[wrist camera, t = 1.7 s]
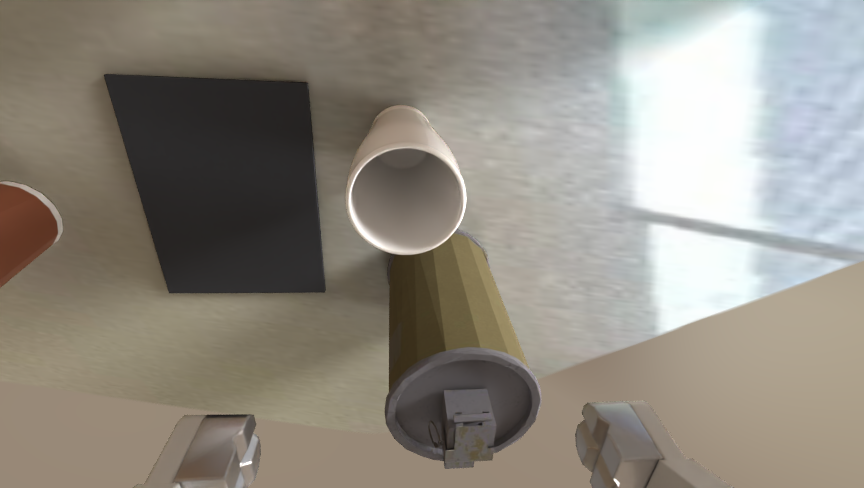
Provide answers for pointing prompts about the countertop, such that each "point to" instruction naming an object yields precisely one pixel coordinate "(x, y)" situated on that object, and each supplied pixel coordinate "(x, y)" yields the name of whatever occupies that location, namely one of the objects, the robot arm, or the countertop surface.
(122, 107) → the place mat
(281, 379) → the countertop surface
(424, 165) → the white tapered cylinder
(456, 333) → the canister
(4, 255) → the coffee cup
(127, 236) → the countertop surface
